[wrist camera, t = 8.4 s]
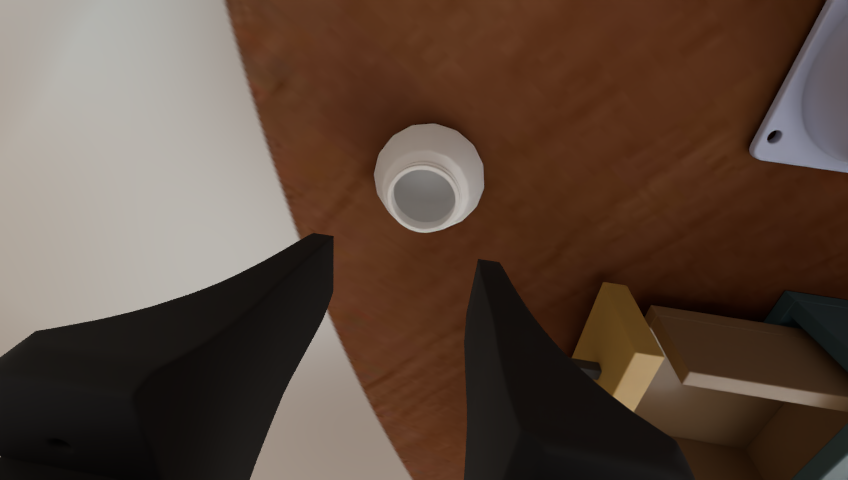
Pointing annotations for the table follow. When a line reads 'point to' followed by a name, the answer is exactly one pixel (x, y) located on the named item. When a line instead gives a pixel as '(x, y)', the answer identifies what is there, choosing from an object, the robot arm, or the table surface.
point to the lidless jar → (429, 177)
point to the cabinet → (844, 340)
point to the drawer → (717, 385)
